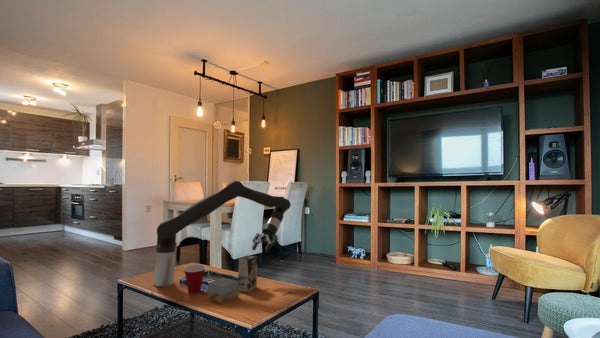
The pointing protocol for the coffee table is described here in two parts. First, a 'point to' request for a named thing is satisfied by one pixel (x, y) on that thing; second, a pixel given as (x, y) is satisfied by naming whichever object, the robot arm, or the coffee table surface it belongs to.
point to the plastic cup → (194, 277)
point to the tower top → (222, 286)
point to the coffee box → (247, 273)
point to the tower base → (222, 297)
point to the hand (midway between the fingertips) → (259, 250)
